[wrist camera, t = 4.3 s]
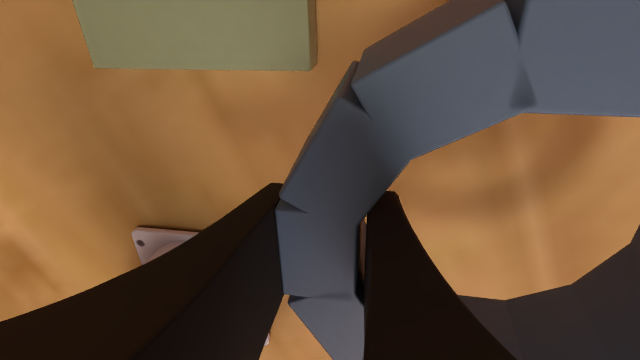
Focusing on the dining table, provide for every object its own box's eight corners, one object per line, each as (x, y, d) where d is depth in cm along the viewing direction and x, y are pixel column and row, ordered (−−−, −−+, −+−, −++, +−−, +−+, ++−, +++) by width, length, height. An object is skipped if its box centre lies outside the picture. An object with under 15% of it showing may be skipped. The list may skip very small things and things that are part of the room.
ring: (637, 355, 12) (701, 459, 10) (311, 313, 14) (292, 391, 11) (877, -24, 7) (1166, -15, 4) (295, -14, 9) (252, -4, 6)
